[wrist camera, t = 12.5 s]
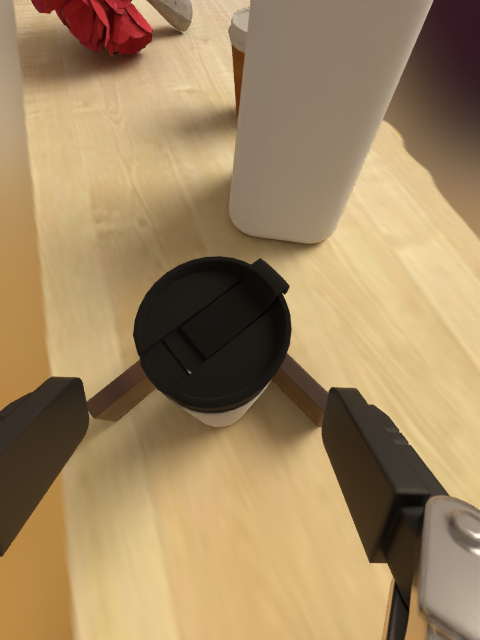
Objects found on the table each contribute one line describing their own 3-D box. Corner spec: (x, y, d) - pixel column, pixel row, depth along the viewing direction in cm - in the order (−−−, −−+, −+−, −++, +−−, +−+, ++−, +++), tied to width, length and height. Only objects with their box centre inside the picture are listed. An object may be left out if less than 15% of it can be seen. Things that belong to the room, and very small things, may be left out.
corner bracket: (224, 313, 32) (224, 292, 27) (328, 416, 28) (348, 411, 23) (107, 409, 27) (83, 404, 22) (212, 552, 23) (209, 581, 18)
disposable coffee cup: (219, 105, 49) (217, 9, 38) (265, 96, 51) (277, 2, 40) (241, 137, 45) (246, 42, 34) (289, 125, 47) (309, 32, 36)
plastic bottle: (224, 237, 37) (224, -229, 11) (238, 163, 43) (258, -247, 17) (334, 251, 37) (589, -182, 11) (332, 175, 43) (493, -217, 17)
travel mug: (264, 396, 28) (336, 322, 10) (215, 441, 26) (193, 451, 8) (226, 353, 30) (229, 221, 12) (177, 392, 28) (90, 307, 10)
